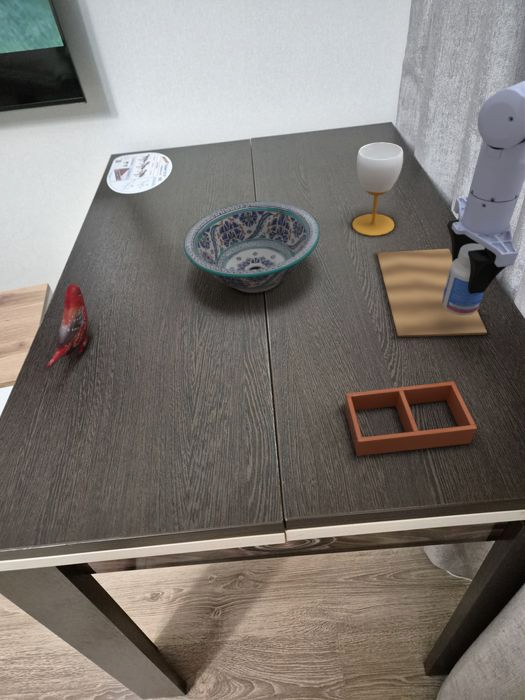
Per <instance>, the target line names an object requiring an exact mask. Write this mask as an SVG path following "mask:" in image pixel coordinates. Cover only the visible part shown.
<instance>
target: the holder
mask: <svg viewBox="0 0 525 700" xmlns="http://www.w3.org/2000/svg"><path fill="white" fill-rule="evenodd" d="M344 400H345V401H344V412H345V416H346V419H347V424H348V427H349V433H350V435H351V440H352V444H353V448H354V452H355V455H356V457H361V456H369V455H370V456H371V455H377V454H388V453H395V452H397V453H398V452H405V451H413V450H423V449H432V448H441V447H442V448H443V447H448V446H449V447H451V446H459V445H468V444H471V443H472V441H473V439H474V437H475V435H476V432H477V430H478V428H477V425H476V423H475V421H474V419H473V417H472V415H471V413H470V411H469V409H468V407H467V405H466V402H465V401H464V399H463V396H462V395H461V393H460V391H459V389H458V387H457V385H456V383H455V381H453V380H452V381H443V382H437V383H435V382H434V383H426V384H419V385H409V386H400V387H391V388H381V389H373V390H366V391H357V392H348V393H345V399H344ZM444 401H445V402H446V403H447V406H448V408H449V411H450V412H451V414H452V416H453V419H454V421H455V423H456V425H457V426H452V427H443V428H435V429H426V430H425V429H424V430H419V429H418V426H417V423H416V421H415V418H414V416H413V413H412V410H411V408H410V406H409V405H418V404H424V403H425V404H426V403H433V402H434V403H435V402H444ZM391 407H395V408H396V411H397V414H398V416H399V419H400V422H401V425H402V428H403V430H404V432H399V433H390V434H388V433H387V434H382V435H381V434H380V435H372V436H362V433H361V429H360V425H359V421H358V416H357V414H356V411H364V410H365V411H366V410H373V409H374V410H375V409H381V408H391Z"/></svg>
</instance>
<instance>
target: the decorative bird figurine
mask: <svg viewBox="0 0 525 700" xmlns="http://www.w3.org/2000/svg"><path fill="white" fill-rule="evenodd" d="M88 317H89V316H88V311H87V307H86V303H85V299H84V295H83V293H82V291H81V286H78V285H76V284H73V283H72V284H69V285H68V286H67V287H66V290H65V295H64V309H63V314H62V318H61V321H60V325H59V329H58V335H57V344H56V347H57V348H56V351H55V353H54V354H53V355H52V357H51V359H50V361H49V362H48V363H47V365H46V367H45V370H46V371H47V370H49V369H50V368H51V367H53V366H54V365H55V364H56V363H57V362H58V361H59V360H60V359H61V358H63V357H66V356H71V355H73V354H74V353H75V351H77V350H79V351H78V354H79V355H78V356H81V353H83V351H84V349H85V347H86V345H87V343H88V338H89V335H90V334H89V333H88V325H89V318H88ZM87 333H88V334H87Z"/></svg>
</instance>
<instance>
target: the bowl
mask: <svg viewBox="0 0 525 700" xmlns="http://www.w3.org/2000/svg"><path fill="white" fill-rule="evenodd" d="M320 236H321V235H320V227H319V224H318V222H317V220H316V219H315V218H314V216H312V215H311V214H310V213H308V212H307V211H306V210H304V209H302V208H300V207H298V206H295V205H292V204H289V203H285V202H279V201H273V200H271V201H270V200H268V201H267V200H256V201H255V200H254V201H245V202H238V203H234V204H230V205H226V206H224V207H221V208H218V209H216V210H214V211H212V212H209V213H208V214H205V215H204V216H203V217H201V218H200V219H198V220H197V221H195V223H194V224H193V225H192V226H191V227H190V228H189V230H188V231H187V232H186V234H185V237H184V239H183V249H184V253H185V256H186V257H187V259H188V260H189V262H190V263H191V264H192V265H193V266H194V267H196V268H197V269H200V270H201V271H203V272H206V273H208V274H211V275H212V276H213V278H215V279H216V280H217V281H218V282H220V283H221V284H223V285H225V286H227V287H230V288H234V289H236V290H238V291H241V292H242V293H250V294H252V293H253V294H255V293H262V292H266V291H269V290H272V289H273V288H275V287H276V286H277V285H279V284H280V283H281V282H283V281H285V280H286V279H287V278H289V276H291V275H292V274H293V273H294V272H295V271H296V269H297V267H298V266H299V264H300V263H301V262H302V261H304V260H305V259H307V258H308V257H309V256H310V255H311V254H312V253H313V252H314V250H315V249H316V247H317V245H318V244H319V241H320Z"/></svg>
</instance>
